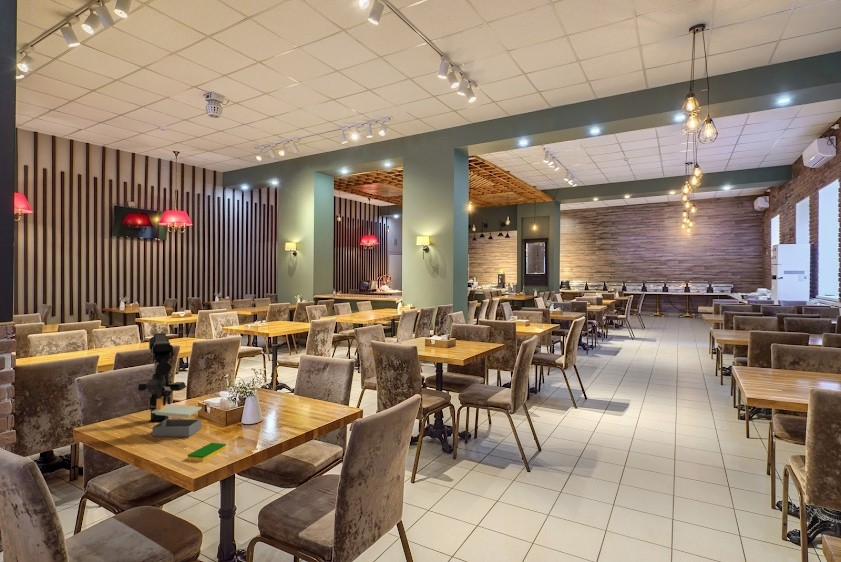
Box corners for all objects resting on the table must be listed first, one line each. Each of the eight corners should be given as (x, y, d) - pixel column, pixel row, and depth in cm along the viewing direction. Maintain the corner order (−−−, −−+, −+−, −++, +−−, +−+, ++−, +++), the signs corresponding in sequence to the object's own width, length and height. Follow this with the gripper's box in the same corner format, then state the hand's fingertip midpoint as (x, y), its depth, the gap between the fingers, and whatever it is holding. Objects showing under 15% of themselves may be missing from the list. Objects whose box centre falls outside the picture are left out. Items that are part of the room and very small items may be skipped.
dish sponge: (226, 449, 185) (226, 443, 185) (202, 462, 171) (202, 456, 171) (211, 448, 186) (211, 442, 186) (187, 461, 173) (187, 454, 173)
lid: (151, 415, 197) (152, 401, 197) (166, 407, 208) (167, 394, 208) (188, 418, 197) (189, 404, 197) (201, 410, 208) (202, 397, 208)
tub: (152, 437, 197) (152, 426, 197) (166, 428, 208) (166, 419, 208) (188, 437, 197) (188, 427, 197) (201, 429, 208) (201, 419, 208)
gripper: (129, 374, 195) (129, 410, 195) (172, 374, 195) (172, 410, 195) (145, 369, 206) (145, 403, 206) (186, 369, 206) (186, 403, 206)
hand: (161, 405), depth 203 cm, fingers closed on lid, 2 cm apart
